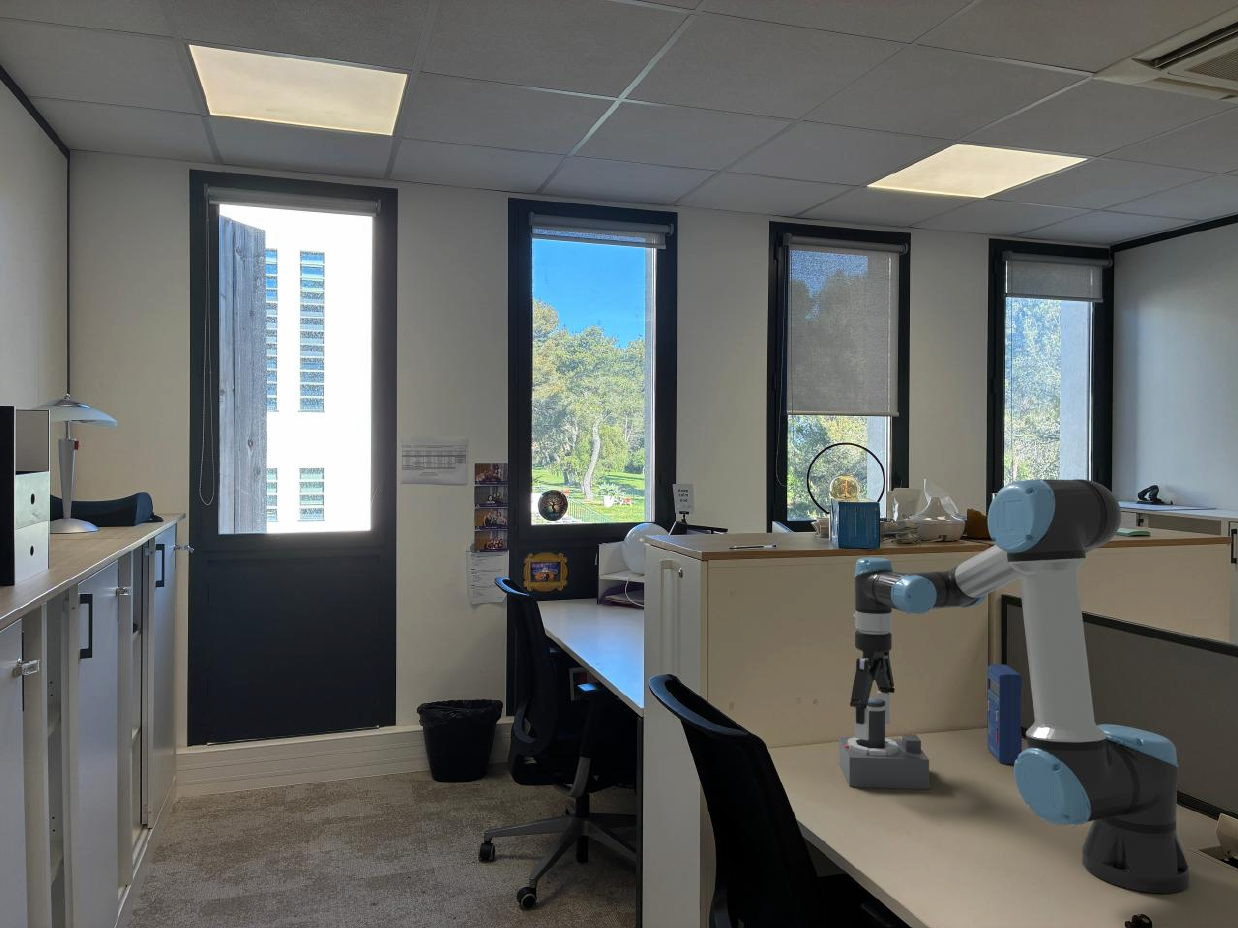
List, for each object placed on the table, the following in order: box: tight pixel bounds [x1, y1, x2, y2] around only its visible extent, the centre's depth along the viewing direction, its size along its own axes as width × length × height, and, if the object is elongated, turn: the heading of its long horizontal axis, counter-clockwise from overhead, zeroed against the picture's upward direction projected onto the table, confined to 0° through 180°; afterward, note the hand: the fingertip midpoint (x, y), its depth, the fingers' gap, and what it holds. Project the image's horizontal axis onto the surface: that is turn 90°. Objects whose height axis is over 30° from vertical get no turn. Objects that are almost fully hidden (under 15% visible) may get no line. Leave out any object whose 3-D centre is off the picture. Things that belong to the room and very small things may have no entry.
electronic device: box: [987, 664, 1023, 765], centre depth 199 cm, size 10×5×20 cm, turn 173°
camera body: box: [838, 734, 930, 790], centre depth 187 cm, size 13×16×8 cm
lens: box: [861, 697, 886, 749], centre depth 187 cm, size 5×5×10 cm
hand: (872, 730), depth 188 cm, fingers open, 13 cm apart
